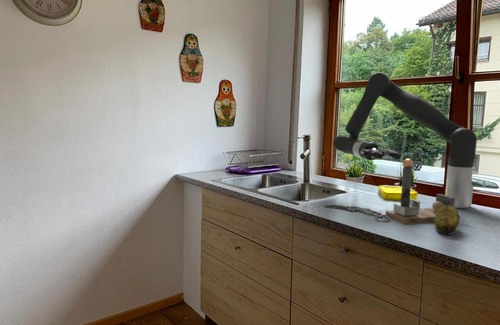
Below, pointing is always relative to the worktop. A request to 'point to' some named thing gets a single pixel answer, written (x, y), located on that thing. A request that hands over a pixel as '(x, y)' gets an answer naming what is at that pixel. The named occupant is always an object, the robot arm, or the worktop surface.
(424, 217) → the base
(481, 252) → the worktop surface
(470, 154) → the robot arm
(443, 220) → the potato
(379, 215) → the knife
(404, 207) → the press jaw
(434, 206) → the walnut
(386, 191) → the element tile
